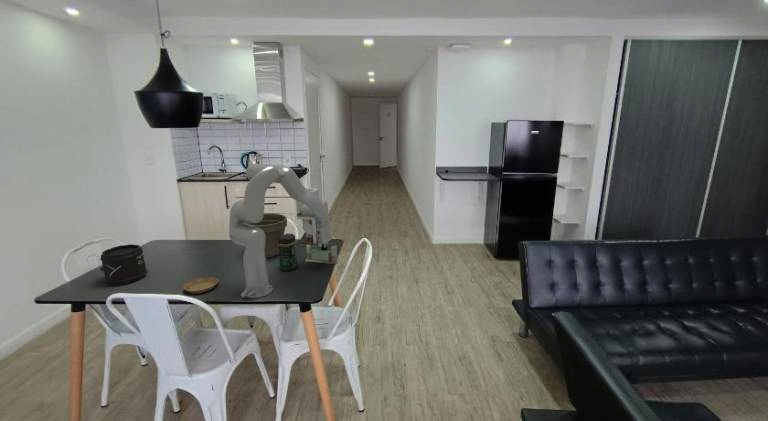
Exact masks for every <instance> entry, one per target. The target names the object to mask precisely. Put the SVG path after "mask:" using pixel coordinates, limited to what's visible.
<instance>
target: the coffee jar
mask: <svg viewBox="0 0 768 421" xmlns="http://www.w3.org/2000/svg"><path fill="white" fill-rule="evenodd" d="M296 240H297V239H296V235H295V234H294V233H284V235H283V236H281V237H280V238H278V245H279V269H280V270H281V271H284V272H285V271H286V272H287V271H292V270H294V269H295V268H296V267H298V259H297V251H296V250H297V247H296Z"/></svg>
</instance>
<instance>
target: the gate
mask: <svg viewBox="0 0 768 421" xmlns="http://www.w3.org/2000/svg"><path fill="white" fill-rule="evenodd" d="M329 253H331V250H328V249H327V250H321V249H315V248H311V258H312V259H315V260H325V261H329V259H328V254H329Z"/></svg>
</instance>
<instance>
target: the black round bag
mask: <svg viewBox="0 0 768 421" xmlns="http://www.w3.org/2000/svg"><path fill="white" fill-rule="evenodd" d="M99 259H100V261H101V265H102V266H101V267H100V268H99V269H100V272H103V275H104V282H105V283H107V284H108V285H109V286H115V287H116V286H125V285H130V284H133V283H136V282H139V281H141V280H143V279H144V278H146V275H147V273H148V270H147V267H146V266H147V265H146V260H145V256H144V250H143V247H142V246H140V244H131V243H130V244H124V245H117V246H114V247H111V248H108V249H106V250H105V249H104V251H102V252H101V254H100V258H99Z"/></svg>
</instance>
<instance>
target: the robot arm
mask: <svg viewBox="0 0 768 421" xmlns="http://www.w3.org/2000/svg"><path fill="white" fill-rule="evenodd" d="M245 176H246V177H247V179H248V180H249V181H248V183H247V184H246V186H245V190H244V197H243V199H240V200H236V201H235V202H234V203H233V204H232V206H231V207H230V212H229V226H228V227H229V228H228V229H229V230H228V231H229V232H228V234H229V239H230V241H231V242H232V243H234V244H236V245H239V246H242V247H244V251H243V254H242V259H243V260H242V261H243V267H244V277H245V285H246V286H245V289H244V290H243V291H242V293H241V294H240V296H241V297H242V298H245V297H246V298H250V299H257V298H262V297H266V296H268V295H269V294H271V293H272V292H273V290H274V289H273V286H272V284H269V277H268V267H267V257H266V255H265V243H266V235H265V233H264V231H263V230H262V229H260V228H258V227H255V226H251V225H249V223H259V222H261V221H262V219H263V216H264V214H265V198H266V193H267V190H268V188H269V187H271V185H272V184H274V183H275V184H280V185H281V186H282V187H283V189H284V190H285V192H286V193H287V194H288V195H289V197H290V198H291V199H293V200H295V202H296V201H298V202H301V203H303V205H302V206H301V208H300V213H301V214H302V215H303V216H305V217H309V218H314V219H315V225H316V242H317V244H318V245H317V247H318V248H319V247H320V250H327V251H328V247H329V246H328V243H329V242H330V241H331V240H332V232H331V224H330V218H329V216H330V215H329V202H328V201H327V200H323V199H322V200H321V199H320V197H319V198H318V197H317V196H316V195H314V194H313V193H312V192H310V191H309V190H308V189H306V187H305V186H304V184H303V183H302V181H301V180H300V178H299V177H298V175H297V174H296V172H295V171H294V170H293V168H291V167H290V166H284V165H275V164H274V165H273V164H266V163H251V164H249V165H248V166H247V167H246V170H245Z"/></svg>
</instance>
